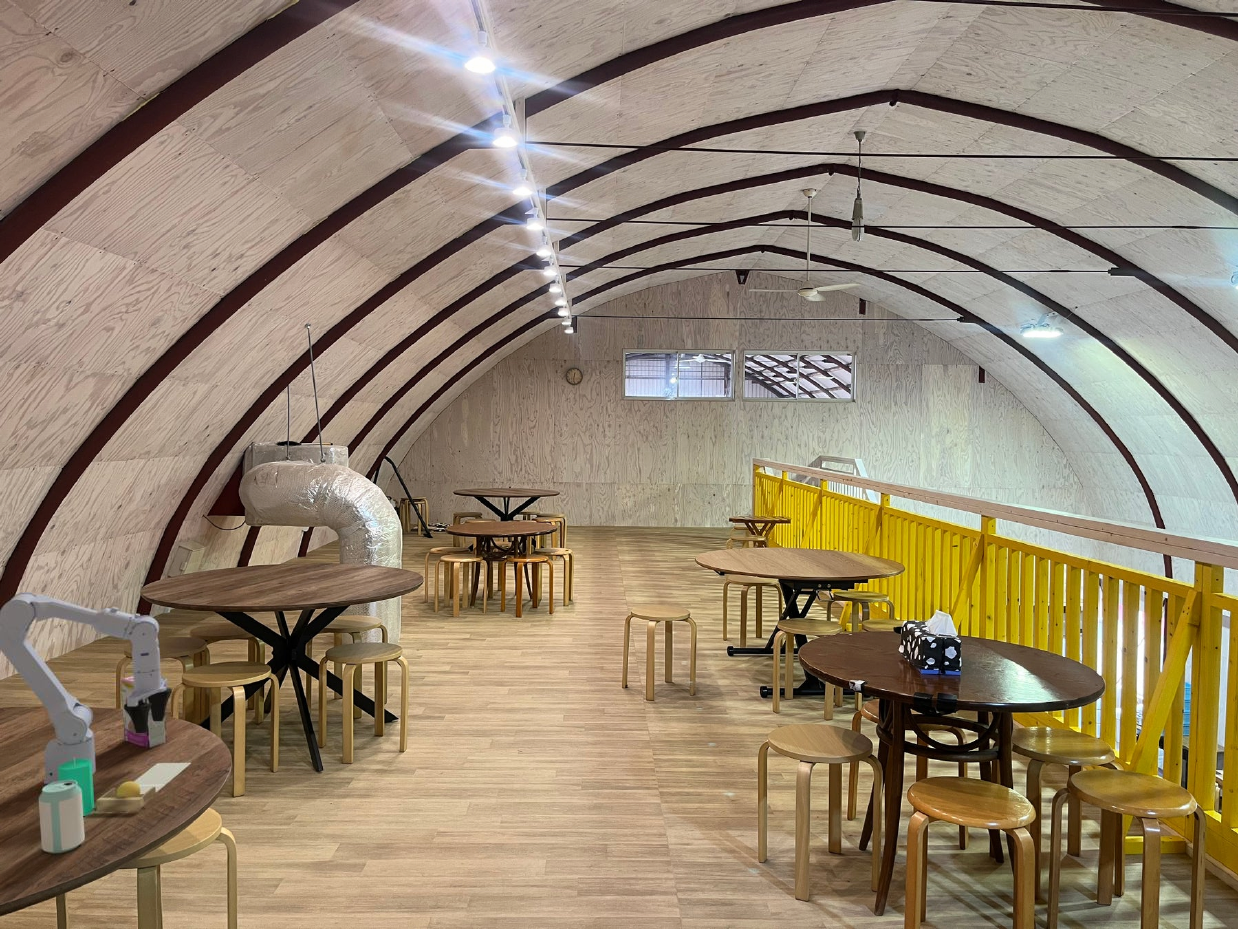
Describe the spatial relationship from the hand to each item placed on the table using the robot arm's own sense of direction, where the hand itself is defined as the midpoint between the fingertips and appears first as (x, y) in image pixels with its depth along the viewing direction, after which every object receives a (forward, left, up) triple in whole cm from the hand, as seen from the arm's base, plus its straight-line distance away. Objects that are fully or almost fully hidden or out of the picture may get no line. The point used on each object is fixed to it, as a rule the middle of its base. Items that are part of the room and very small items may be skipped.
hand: (150, 726), depth 216 cm
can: (+3, -39, -10) cm, 40 cm away
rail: (+6, -21, -9) cm, 24 cm away
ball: (+6, -20, -9) cm, 23 cm away
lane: (+6, -12, -9) cm, 16 cm away
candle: (-3, -25, -10) cm, 26 cm away
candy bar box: (-9, +14, -10) cm, 19 cm away
